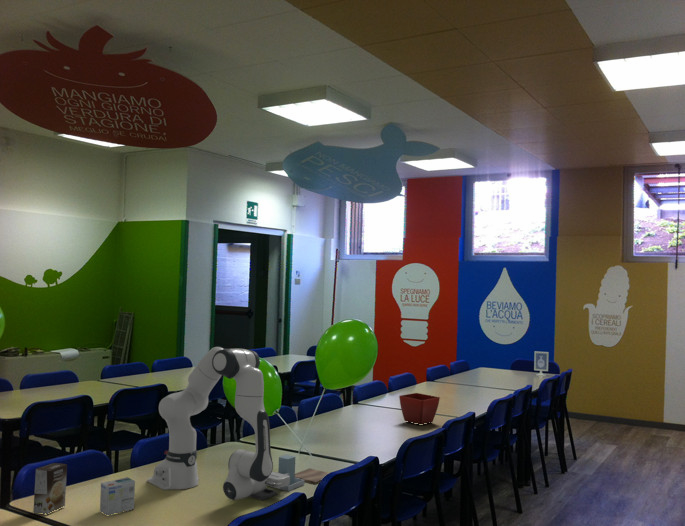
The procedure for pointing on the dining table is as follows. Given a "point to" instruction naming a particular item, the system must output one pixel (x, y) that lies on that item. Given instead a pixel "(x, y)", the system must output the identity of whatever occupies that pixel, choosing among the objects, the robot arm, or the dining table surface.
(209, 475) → the dining table surface
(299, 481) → the frame
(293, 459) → the blue-grey block
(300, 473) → the walnut board
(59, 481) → the coffee box
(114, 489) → the light bulb box
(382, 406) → the dining table surface
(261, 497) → the tray
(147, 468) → the dining table surface
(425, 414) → the plant pot
